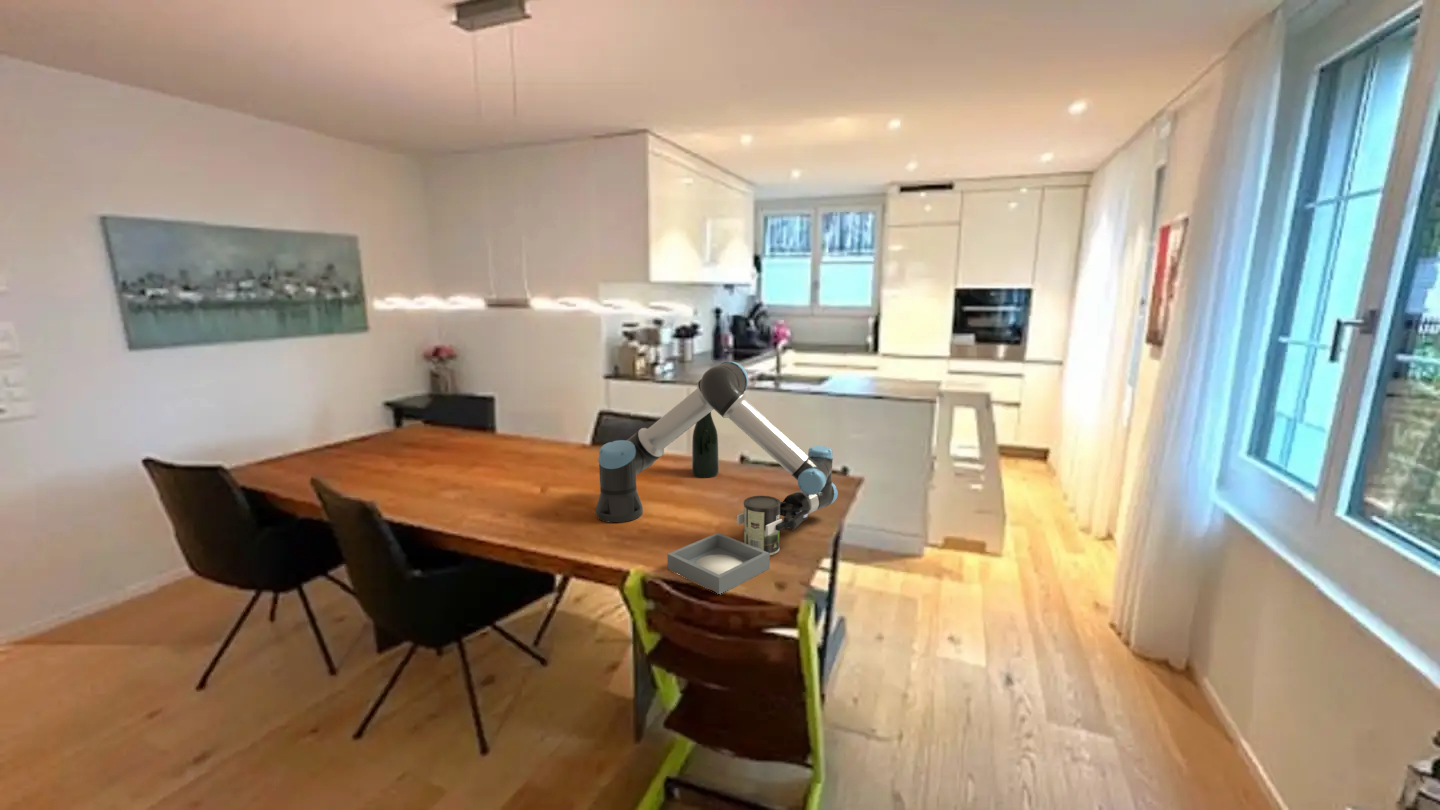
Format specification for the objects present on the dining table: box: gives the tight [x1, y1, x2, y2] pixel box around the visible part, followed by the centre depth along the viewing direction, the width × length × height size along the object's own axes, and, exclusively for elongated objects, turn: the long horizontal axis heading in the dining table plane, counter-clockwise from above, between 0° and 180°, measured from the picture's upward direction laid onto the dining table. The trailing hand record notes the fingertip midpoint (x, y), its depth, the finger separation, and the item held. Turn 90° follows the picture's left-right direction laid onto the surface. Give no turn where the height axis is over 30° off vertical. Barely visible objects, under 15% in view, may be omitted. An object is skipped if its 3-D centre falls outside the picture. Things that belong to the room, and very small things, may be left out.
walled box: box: [667, 532, 771, 595], centre depth 159 cm, size 19×19×4 cm
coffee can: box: [743, 495, 781, 556], centre depth 170 cm, size 10×10×14 cm
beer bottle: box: [691, 411, 720, 478], centre depth 235 cm, size 10×10×33 cm
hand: (751, 525), depth 167 cm, fingers closed on coffee can, 10 cm apart
